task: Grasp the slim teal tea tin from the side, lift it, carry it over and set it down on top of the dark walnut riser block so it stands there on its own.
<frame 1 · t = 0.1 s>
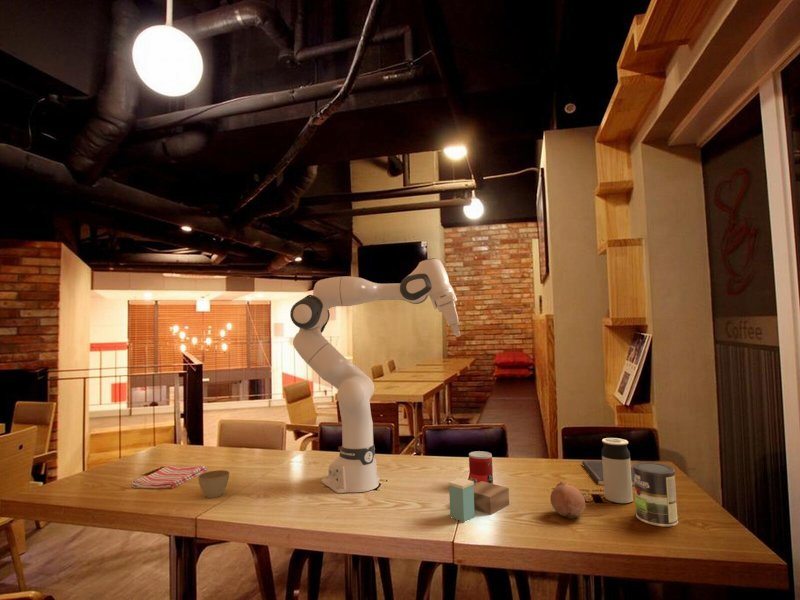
hand: (458, 336, 157), 52 cm above the table, tool tilted 20°, fingers open, 8 cm apart
canned food: (481, 486, 153), on the table
flower pot: (213, 496, 152), on the table
onion: (568, 516, 127), on the table
tea tin: (462, 517, 128), on the table
travel mug: (618, 499, 138), on the table
dish towel: (171, 480, 172), on the table
coffee can: (657, 519, 123), on the table
riser block: (486, 505, 136), on the table
hardcover book: (612, 476, 161), on the table
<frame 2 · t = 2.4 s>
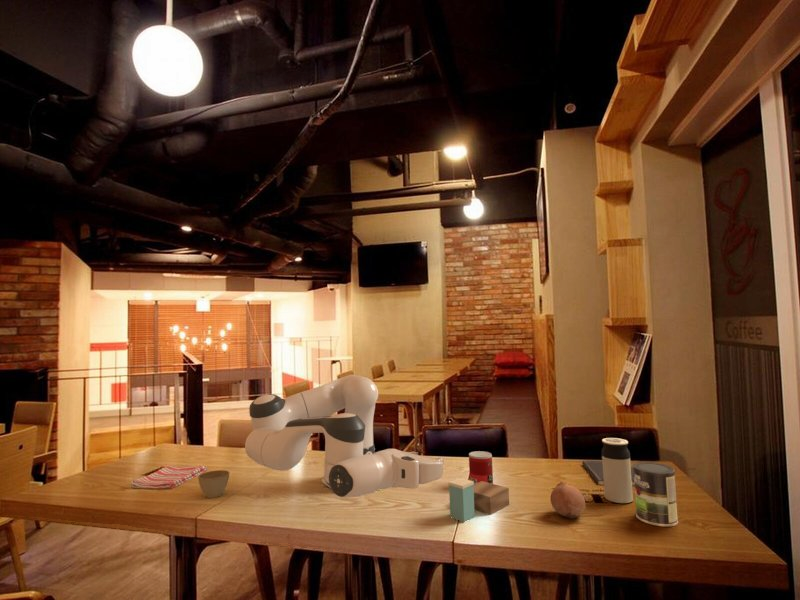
hand: (428, 458, 120), 20 cm above the table, tool horizontal, fingers open, 8 cm apart
nothing on the table moved.
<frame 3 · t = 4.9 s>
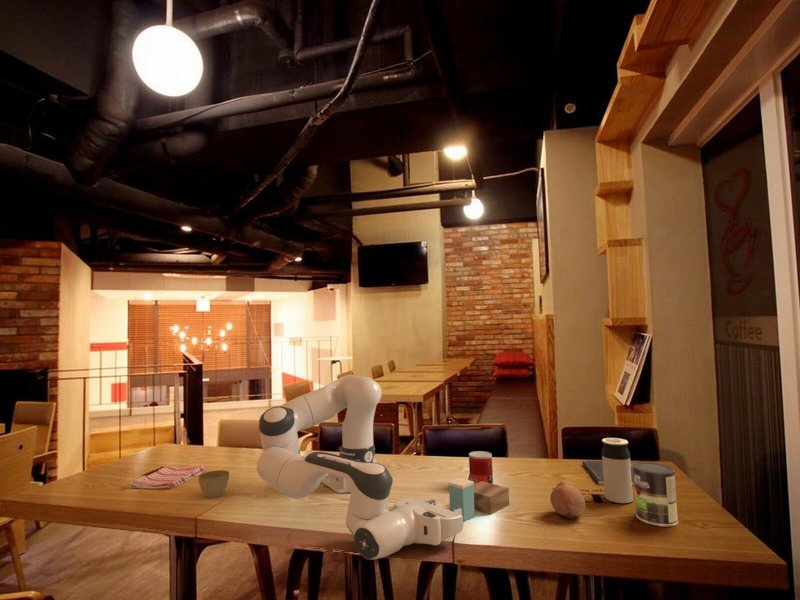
hand: (446, 506, 123), 5 cm above the table, tool horizontal, fingers open, 8 cm apart
nothing on the table moved.
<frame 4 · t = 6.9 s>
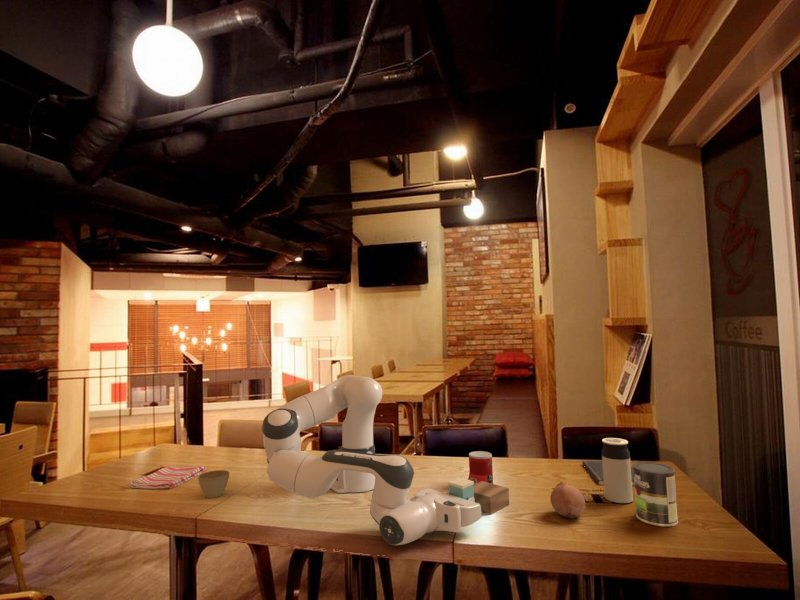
hand: (463, 496, 129), 6 cm above the table, tool horizontal, fingers closed on tea tin, 5 cm apart
tea tin: (462, 517, 128), on the table, touching gripper
everything else where it was.
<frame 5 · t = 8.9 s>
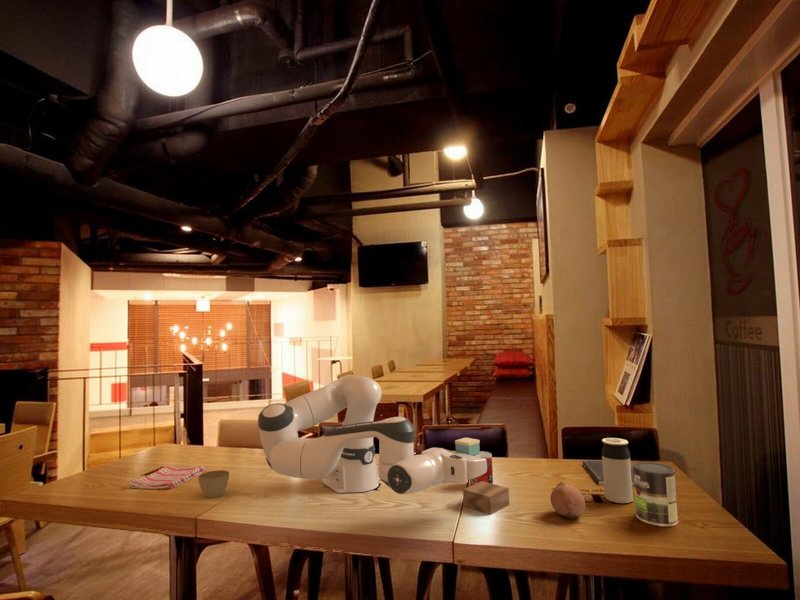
hand: (469, 455, 131), 17 cm above the table, tool horizontal, fingers closed on tea tin, 5 cm apart
tea tin: (468, 475, 130), point 11 cm above the table, touching gripper
everything else where it was.
when the fingers open (12 cm above the table, at t = 11.0 s): tea tin drops 1 cm, resting on riser block.
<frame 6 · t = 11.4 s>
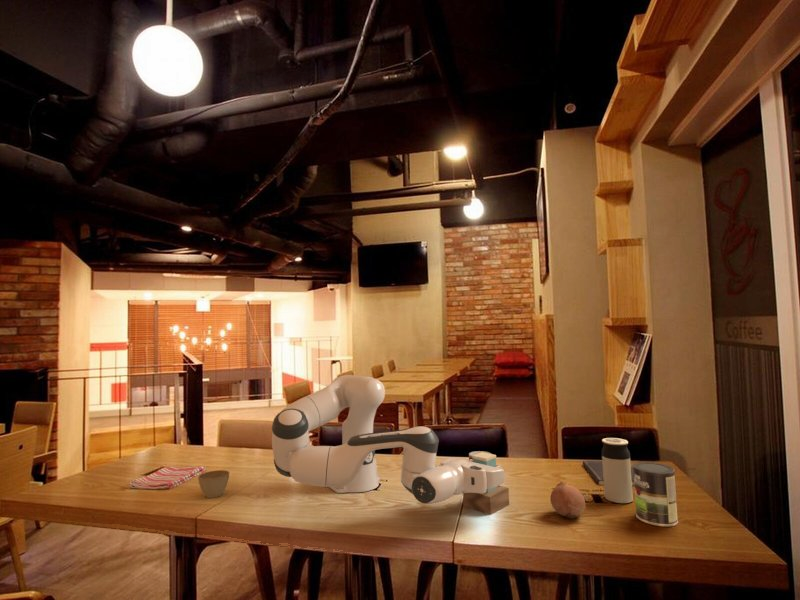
hand: (486, 465, 138), 12 cm above the table, tool horizontal, fingers open, 8 cm apart
tea tin: (485, 488, 136), point 5 cm above the table, touching riser block
everything else where it was.
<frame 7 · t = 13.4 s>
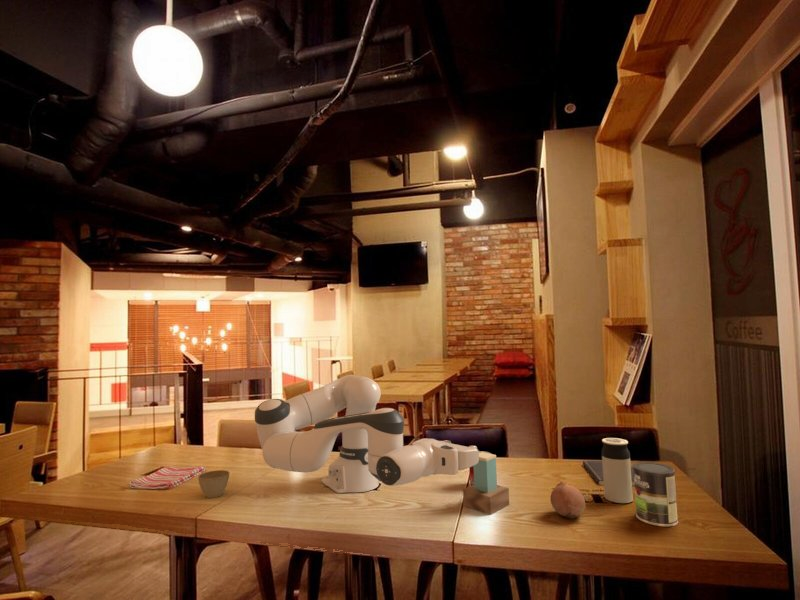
hand: (461, 445, 128), 21 cm above the table, tool horizontal, fingers open, 8 cm apart
nothing on the table moved.
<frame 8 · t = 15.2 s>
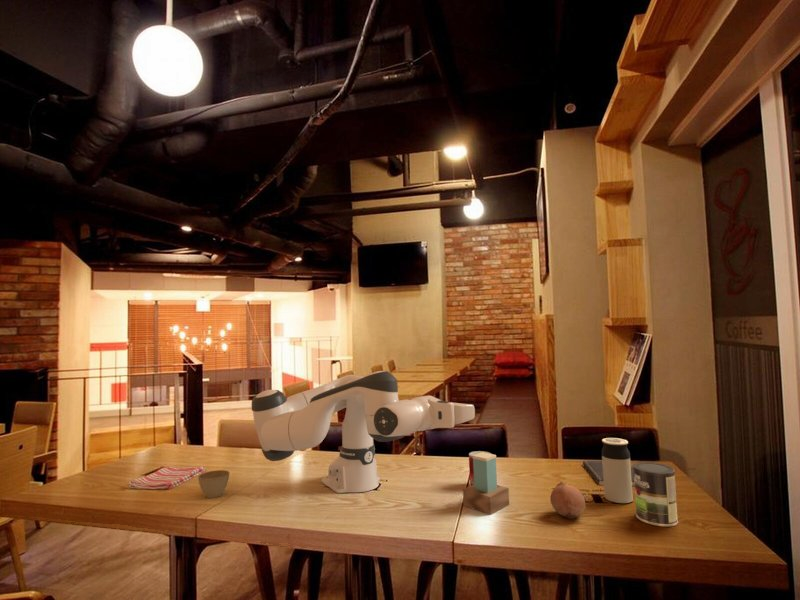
hand: (457, 405, 130), 32 cm above the table, tool horizontal, fingers open, 8 cm apart
nothing on the table moved.
at the end: tea tin inside the target area on the riser block (0.0 cm from its centre), point 5.0 cm above the riser block's base; tea tin tilted 0°; the gripper is holding nothing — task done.
